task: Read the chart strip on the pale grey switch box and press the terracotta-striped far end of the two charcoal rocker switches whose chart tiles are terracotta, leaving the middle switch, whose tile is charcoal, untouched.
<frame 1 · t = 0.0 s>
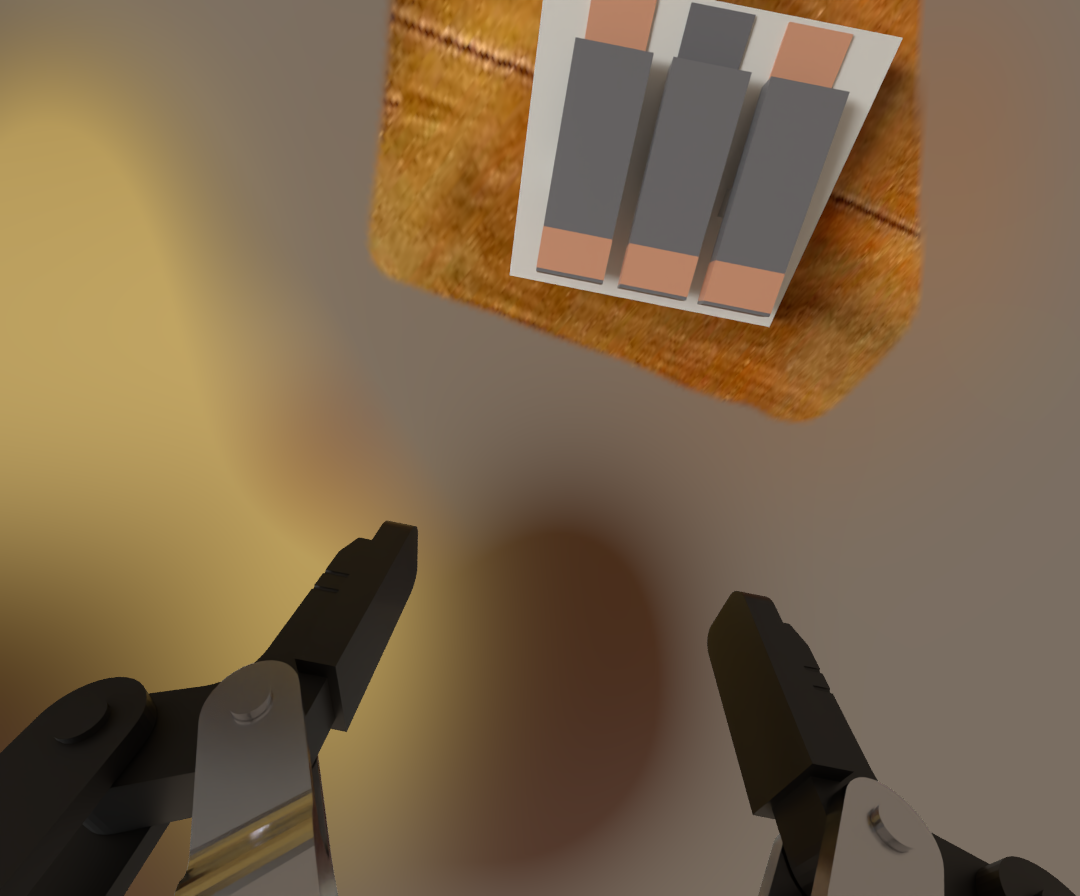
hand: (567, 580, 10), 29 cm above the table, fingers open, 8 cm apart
switch box: (665, 179, 30), on the table
switch 1: (589, 173, 25), point 6 cm above the table, hinge at -12.0°
switch 3: (765, 208, 25), point 6 cm above the table, hinge at -12.0°
switch 2: (677, 191, 25), point 6 cm above the table, hinge at -12.0°
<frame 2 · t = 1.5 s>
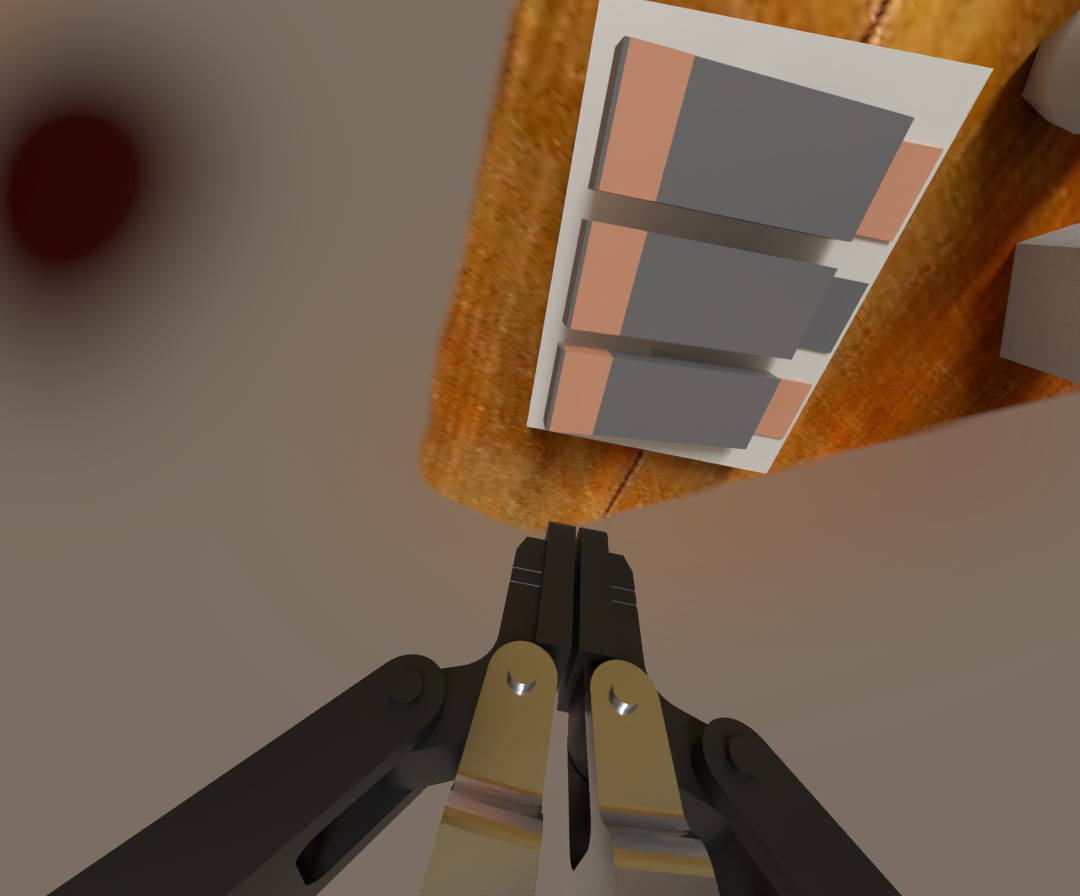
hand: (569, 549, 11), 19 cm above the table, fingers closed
switch box: (687, 279, 25), on the table
salt shaker: (1073, 64, 19), on the table
switch 1: (745, 154, 16), point 6 cm above the table, hinge at -12.0°
switch 3: (659, 400, 22), point 6 cm above the table, hinge at -12.0°
switch 2: (695, 295, 19), point 7 cm above the table, hinge at -12.0°
white gabled box: (1043, 291, 23), on the table
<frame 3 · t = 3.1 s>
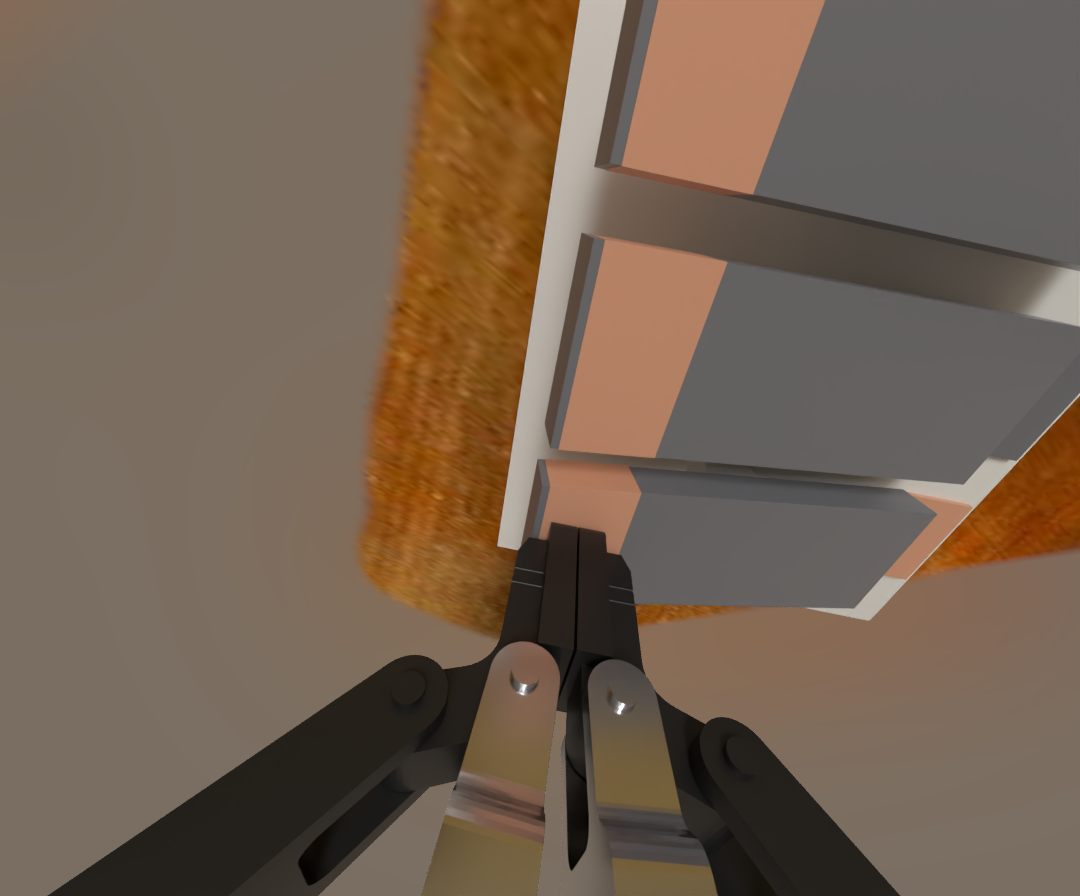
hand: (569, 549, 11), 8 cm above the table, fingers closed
switch box: (752, 324, 15), on the table
switch 1: (964, 83, 7), point 6 cm above the table, hinge at -12.0°
switch 3: (716, 543, 13), point 6 cm above the table, hinge at -12.0°, touching gripper
switch 2: (804, 379, 10), point 6 cm above the table, hinge at -12.0°
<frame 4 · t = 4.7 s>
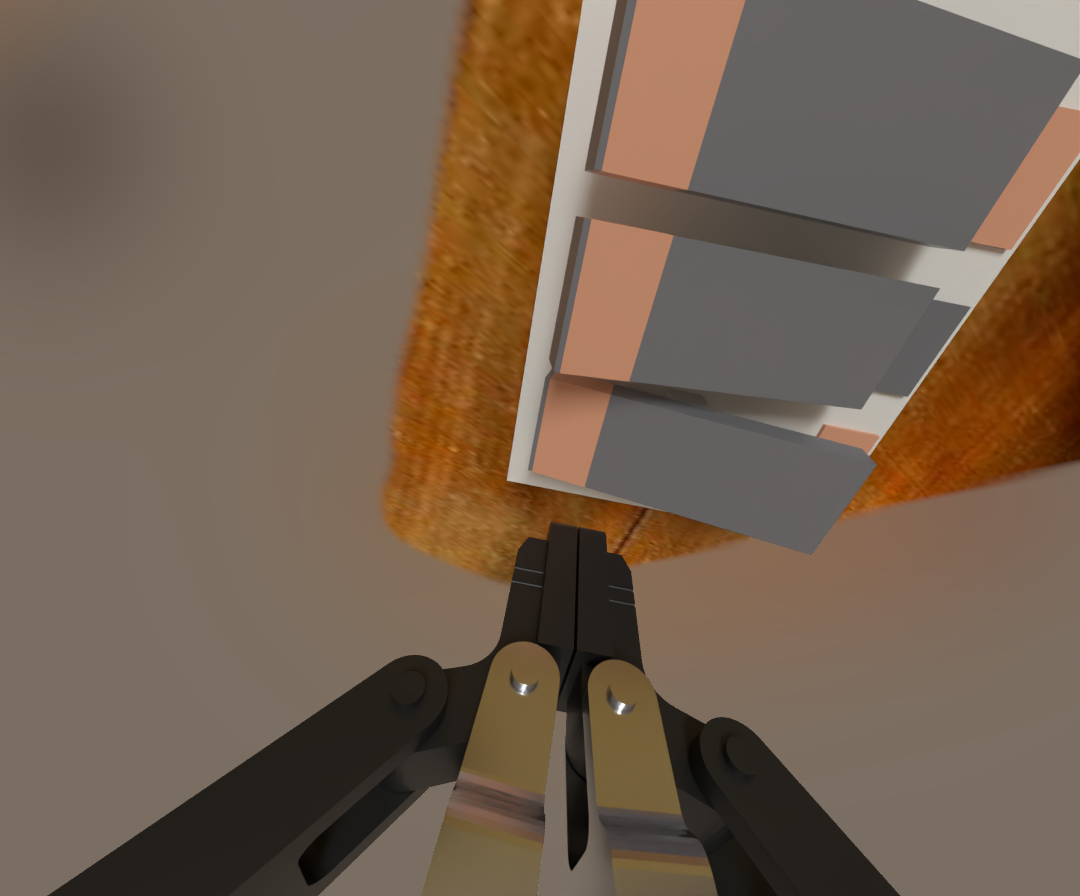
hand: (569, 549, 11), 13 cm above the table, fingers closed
switch box: (712, 296, 19), on the table
switch 1: (823, 118, 11), point 6 cm above the table, hinge at -12.0°
switch 3: (680, 460, 16), point 6 cm above the table, hinge at 9.9°
switch 2: (737, 325, 14), point 6 cm above the table, hinge at -12.0°
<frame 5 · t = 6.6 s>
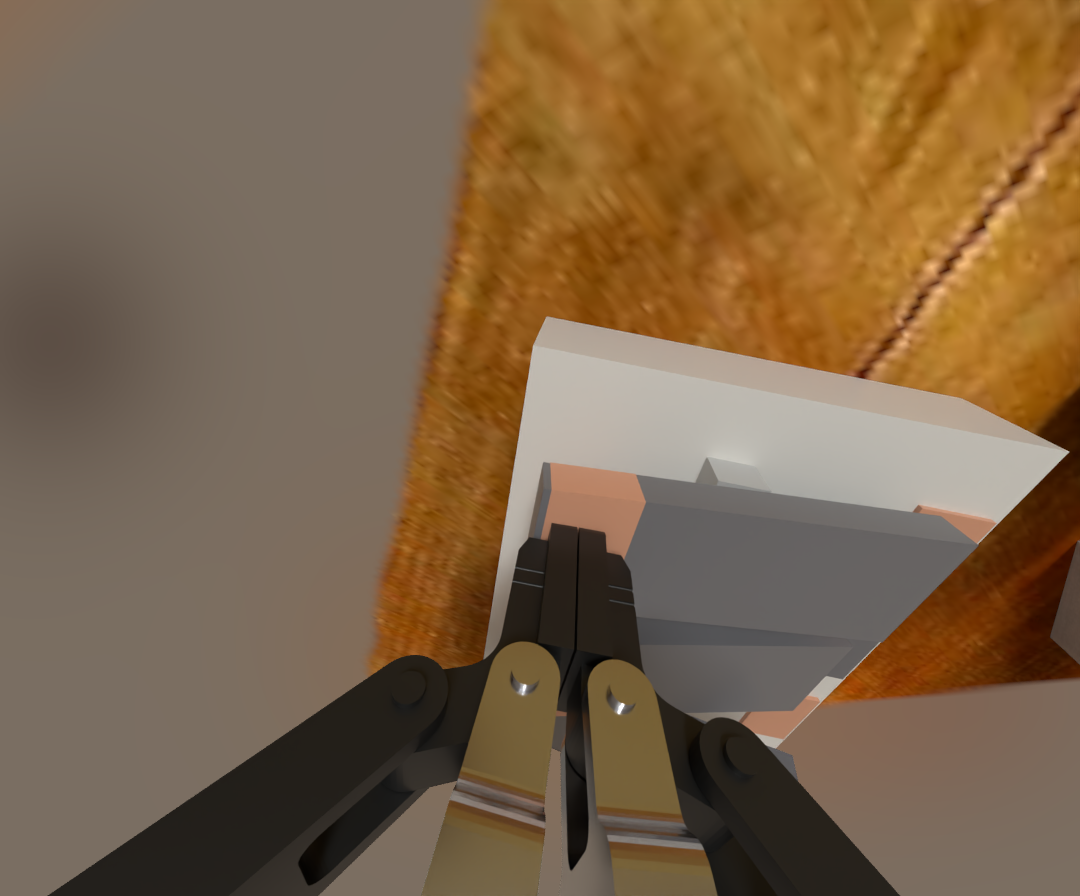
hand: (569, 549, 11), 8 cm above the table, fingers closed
switch box: (667, 546, 20), on the table
switch 1: (728, 560, 12), point 7 cm above the table, hinge at -6.8°, touching gripper
switch 3: (627, 737, 18), point 6 cm above the table, hinge at 10.2°
switch 2: (668, 665, 15), point 6 cm above the table, hinge at -12.0°
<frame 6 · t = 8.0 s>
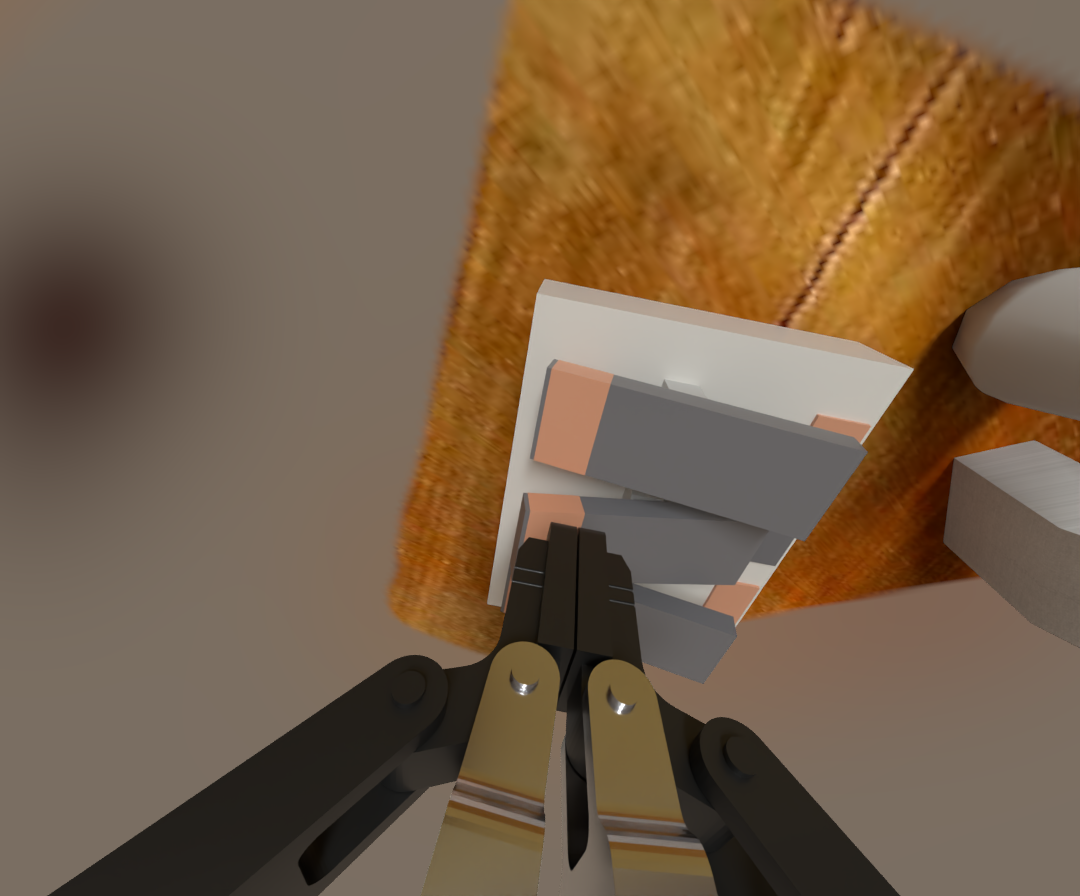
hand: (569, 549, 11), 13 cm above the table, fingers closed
switch box: (641, 472, 25), on the table
salt shaker: (999, 324, 19), on the table
switch 1: (677, 448, 17), point 6 cm above the table, hinge at 10.4°
switch 3: (609, 613, 23), point 6 cm above the table, hinge at 10.2°
switch 2: (638, 543, 20), point 6 cm above the table, hinge at -12.0°
white gabled box: (981, 493, 24), on the table
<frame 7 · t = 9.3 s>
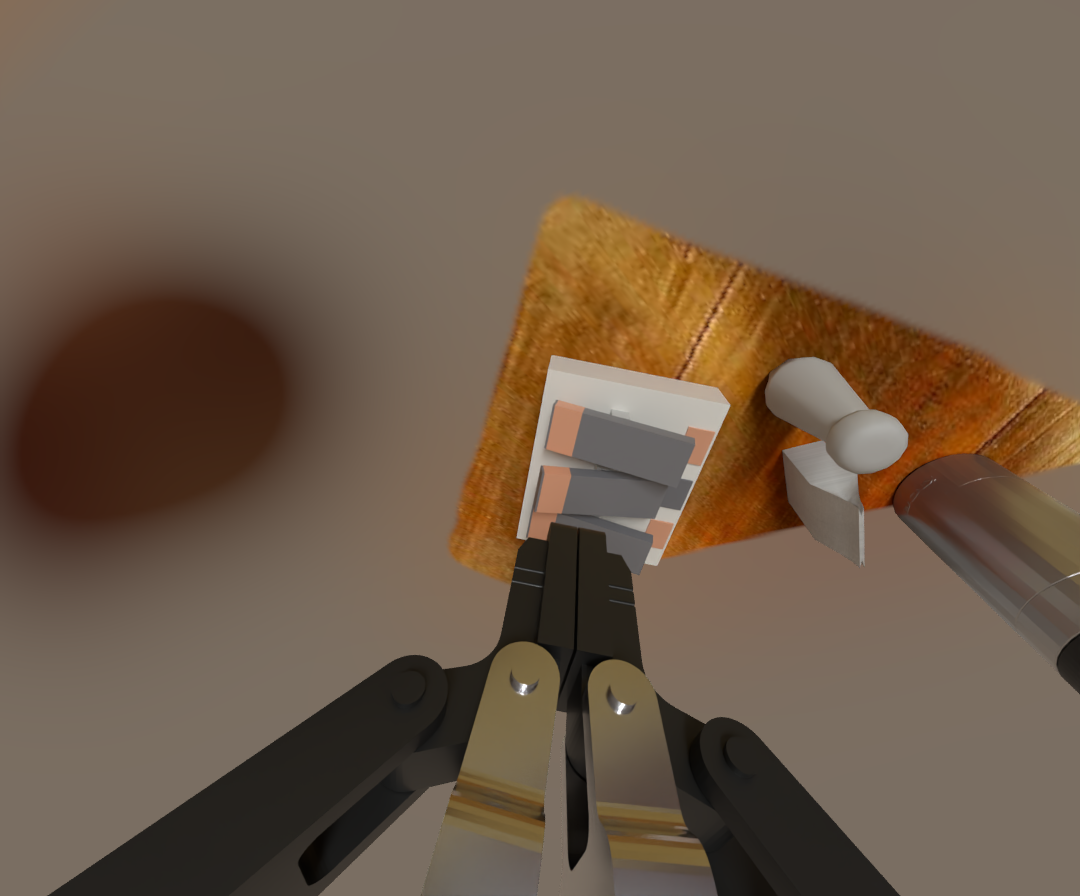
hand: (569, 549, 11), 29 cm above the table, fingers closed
switch box: (607, 458, 43), on the table
salt shaker: (789, 379, 37), on the table
switch 1: (615, 443, 35), point 6 cm above the table, hinge at 10.7°
switch 3: (587, 536, 40), point 6 cm above the table, hinge at 10.2°
switch 2: (600, 493, 38), point 6 cm above the table, hinge at -12.0°
white gabled box: (803, 471, 42), on the table
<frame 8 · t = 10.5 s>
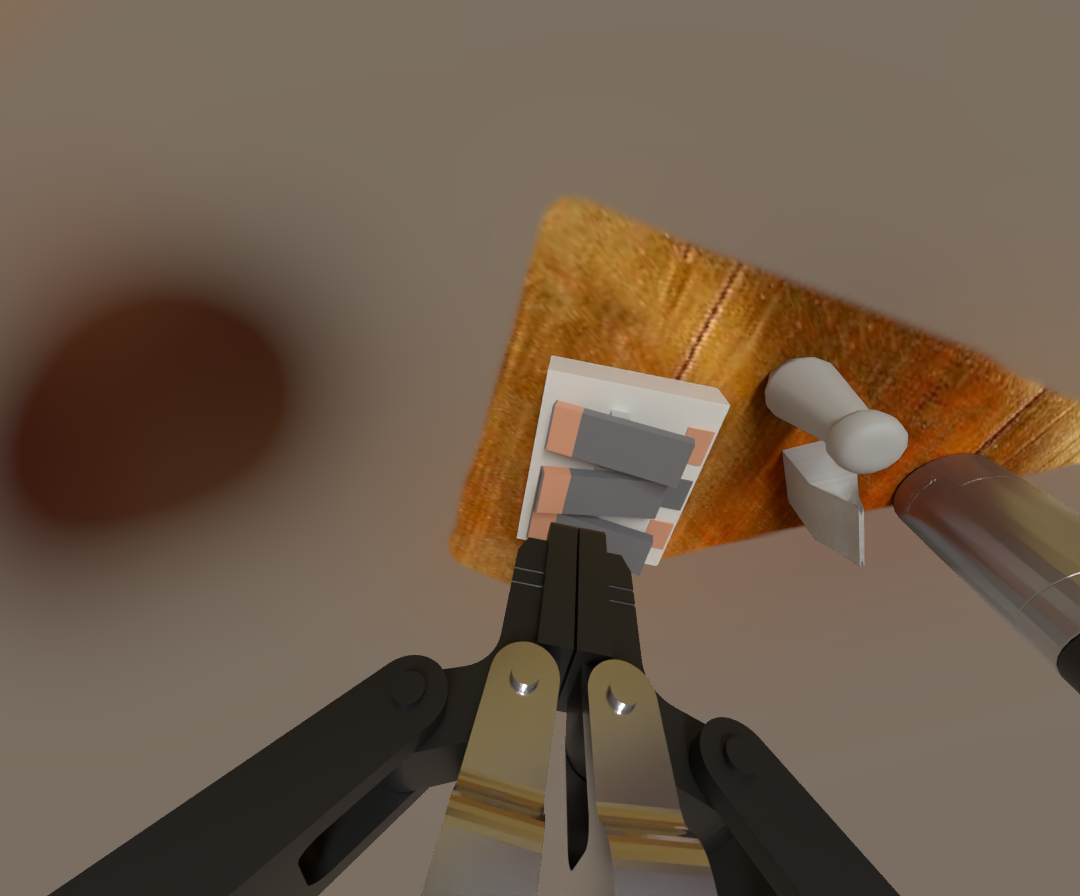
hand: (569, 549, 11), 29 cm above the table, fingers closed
switch box: (607, 459, 43), on the table
salt shaker: (788, 379, 37), on the table
switch 1: (615, 443, 35), point 7 cm above the table, hinge at 10.7°
switch 3: (587, 536, 40), point 6 cm above the table, hinge at 10.2°
switch 2: (600, 493, 38), point 7 cm above the table, hinge at -12.0°
white gabled box: (803, 471, 42), on the table
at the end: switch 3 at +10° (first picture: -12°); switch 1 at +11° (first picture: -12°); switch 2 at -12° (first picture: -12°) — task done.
